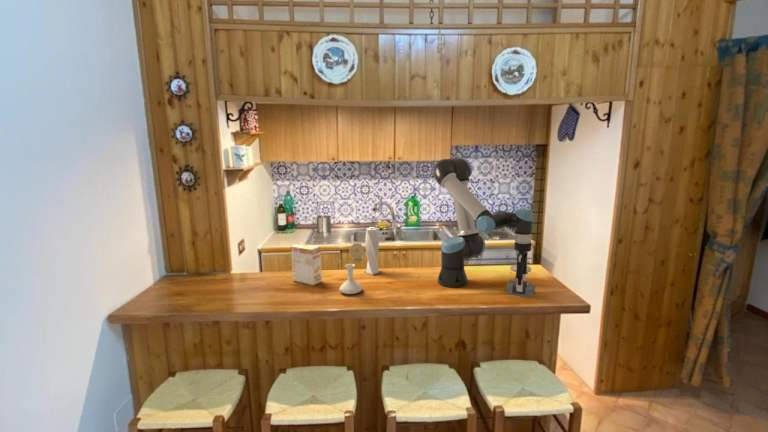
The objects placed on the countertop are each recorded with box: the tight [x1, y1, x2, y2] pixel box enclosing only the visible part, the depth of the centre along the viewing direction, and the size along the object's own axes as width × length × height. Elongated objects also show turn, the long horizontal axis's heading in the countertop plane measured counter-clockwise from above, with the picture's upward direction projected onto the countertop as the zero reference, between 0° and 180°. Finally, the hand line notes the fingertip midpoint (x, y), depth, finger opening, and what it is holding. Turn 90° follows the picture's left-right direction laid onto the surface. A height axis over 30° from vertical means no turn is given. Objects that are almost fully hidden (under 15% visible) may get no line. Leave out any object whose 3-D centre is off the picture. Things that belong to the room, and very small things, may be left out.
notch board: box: [505, 280, 536, 299], centre depth 199 cm, size 12×8×4 cm, turn 61°
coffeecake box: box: [290, 242, 323, 286], centre depth 218 cm, size 15×7×20 cm, turn 58°
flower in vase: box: [338, 242, 366, 295], centre depth 202 cm, size 13×11×25 cm
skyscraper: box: [363, 224, 382, 276], centre depth 229 cm, size 8×8×28 cm
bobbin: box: [509, 264, 532, 288], centre depth 208 cm, size 10×10×10 cm
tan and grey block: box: [517, 276, 529, 294], centre depth 198 cm, size 4×4×7 cm
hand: (520, 289), depth 198 cm, fingers open, 6 cm apart
